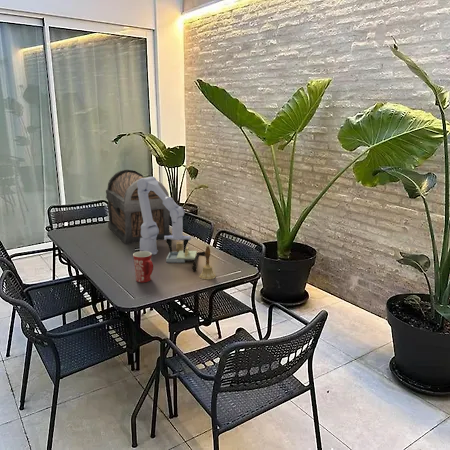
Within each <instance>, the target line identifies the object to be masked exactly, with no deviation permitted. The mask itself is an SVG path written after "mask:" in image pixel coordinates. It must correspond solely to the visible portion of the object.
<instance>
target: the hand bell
mask: <svg viewBox="0 0 450 450" xmlns="http://www.w3.org/2000/svg"><path fill="white" fill-rule="evenodd" d="M204 252H205V255H204V256H205V265H204V266H203V267H202V271H201V273H200V274H199V276H198V277H199V278H200V279H202V280H207V281H208V280H214V279H215V278H216V277H217V276H216V274H215V273H214V271H213V267H212V265H210V257H211V249H210V245H209V246H208V245H207V246H206V248H205V251H204Z"/></svg>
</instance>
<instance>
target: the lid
mask: <svg viewBox="0 0 450 450" xmlns="http://www.w3.org/2000/svg"><path fill="white" fill-rule="evenodd" d="M197 253H198V250H189V246H186V249H185V253H183V251H181V250H179V253H178V255H177V257H176V259H194V260H195V257H196V255H197Z"/></svg>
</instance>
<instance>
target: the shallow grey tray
mask: <svg viewBox="0 0 450 450" xmlns="http://www.w3.org/2000/svg"><path fill="white" fill-rule="evenodd" d="M178 253H179V252H176V251H172V252H171V253H170V251H169V252H168V254H167V256H166V258H165V262H166V263H167V264H168V263H169V264H171V263H172V264H185V263H186V259H176V257H177V255H178Z"/></svg>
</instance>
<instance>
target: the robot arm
mask: <svg viewBox="0 0 450 450" xmlns="http://www.w3.org/2000/svg"><path fill="white" fill-rule="evenodd" d="M158 182H159V180H157V177H155V176H149V177H144V178H141V179H139V181H138V182H137V186H138V197H139V202H140V207H141V212H142V217H143V224H142V225H141V236H142V237H143V238H140V242H139V251H148V252H151V253H152V255H157V254H158V252H159V249H157V240H156V237H157V235H158V234H159V229H158V227H157V224H156V222H154V221H153V218H152V213H151V208H150V202H149V197H148V193H149V192H150V191H154V192H155V193H156V194H157V195H158V196H159V197H160V198H161V199H162V200H163V205H164V206H165V207H166V208H167V209H168V211H169V217H170V218H171V232H172V233H171V235H169V236H164V239H163V240H164V241H165V242H166V245H167V246H168V249H169V252H170V253H171V252H173V246H172V245H173V244H172V243H173V241H182V242H183V253H185V250H186V248H187V245H188V243H189V241H191V238H192V236H190V235H184V234H183V232H184V230H183V228H184V227H183V226H184V225H183V217H184V216H185V214H186V213H185V212H186V211H185V209H184V207H183V206H180V205H179V204H177V203H176V202H175V200H174V198H173V197H171V196H169V197H167V195H166V194H165V193H164V191H163V190H162V189H161V187H160V186H159V184H158ZM149 226H150V227H149Z"/></svg>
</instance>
